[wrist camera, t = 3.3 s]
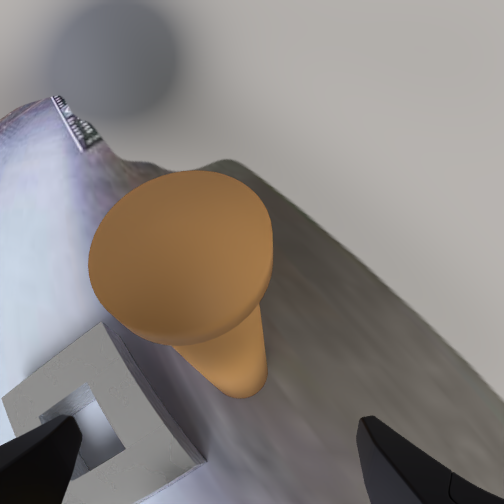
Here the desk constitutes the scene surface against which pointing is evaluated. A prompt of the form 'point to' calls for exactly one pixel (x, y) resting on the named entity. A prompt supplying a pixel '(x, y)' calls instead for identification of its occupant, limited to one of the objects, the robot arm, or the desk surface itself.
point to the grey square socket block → (117, 413)
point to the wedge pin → (190, 272)
